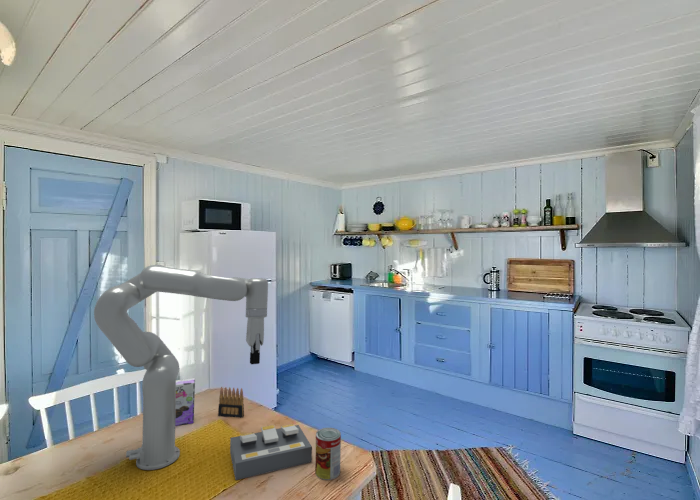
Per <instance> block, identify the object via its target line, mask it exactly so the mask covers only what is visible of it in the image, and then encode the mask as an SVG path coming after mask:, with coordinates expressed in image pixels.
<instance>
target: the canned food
mask: <svg viewBox="0 0 700 500" xmlns="http://www.w3.org/2000/svg"><path fill="white" fill-rule="evenodd" d="M341 443H342V434H341V431H340V430H338V429H337V428H335V427H323V428H320V429H318V430H317V431H316V433H315V463H314V465H315V466H314V469H315V471H314V472H315V473H314V474H315V476H316V477H317V478H318V479H320V480H325V481H330V480H331V481H332V480H335V479H337V478H338V477H339V476H340V474H341V453H342V452H341V450H342V449H341V447H342V445H341Z"/></svg>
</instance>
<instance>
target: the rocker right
mask: <svg viewBox="0 0 700 500" xmlns="http://www.w3.org/2000/svg"><path fill="white" fill-rule="evenodd" d="M295 425H296V424H294V423H293V424H287V425H281V426H280V428H281V431H282V432H283V433H284V434H285V435H291V434H296V433H299V429H298V428H297V427H296V426H295Z"/></svg>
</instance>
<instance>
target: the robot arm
mask: <svg viewBox="0 0 700 500" xmlns="http://www.w3.org/2000/svg"><path fill="white" fill-rule="evenodd" d="M268 281H269V280H268V279H266V278H262V277H261V278H260V277H258V278H257V277H252V278H246V277H245V278H244V277H236V276H235V277H223V276H216V275H215V276H214V275H211V274H206V273H203V272H201V271H198V270H191V269H184V268H177V267H170V266H165V265H162V264H152V265H148V266H146V267H144V268H143V269H142V271H141V272H140V273H138V274H137V275H134V276H133V277H132V278H130V279H128V280H126V281H124V282H122V283H120V284H118V285H114V286H112V287H109V288H107V289H106V290H105V291H104V292H103V293H102V294H100V296H99V298H98V299H97V301H96V304H95V306H94V310H93V315H94V316H93V317H94V321H95V323H96V325H97V327H98V329H99V330H100V331H101V332H102V333H103V335H104V336H105V337H106V338H107V340H109V342H110V343H111V344H112V346H113V347H114V348H115V349H116V350H117V352H118V353H119V355H120V356H121V357H123V359H124V360H125V361H126V363H127V364H128V365H130V366H131V367H133V368H140V367H141V368H142V367H143V368H144V369H145V373H144V375H143V377H142V378H143V379H142V384H141V389H142V390H141V391H142V438H141V439H142V440H141V446H140V447H138V448H137V449H131V450H129V449H128V450H127V451H126V452H125V457H126V458H128V459H129V461H131V460H135V461H136V463H135V465H136V467H137V468H138V469H140V470H143V471H152V470H153V471H155V470H158V469H162V468H166V467H167V466H169V465H171V464H173V463H174V462H176V461H177V460H178V459H179V457H180V455H181V454H180V453H181V450H180V447H178V446H176V443H175V442H176V426H175V419H176V380H177V378H178V375H179V371H180V364H179V361H178V359H177V358H176V356H175V355H174V353H172V351H171V350H170V348H169V347H168V346H167V345H166V343H164V341H163V340H162V338H160V337H159V336H158V335H157V334H156V333H154V332H151V331H143V330H142V329H141V327H139V325H138V323H137V322H136V321H135V320H134V319H133V318H132V317H131V316H130V315H129V314H128V313H129V312H128V310H129V309H131V308H133V307H135V306H136V305H138V304H139V303H141V302H143V300H146V299H148V298H149V297H151V296H152V295H154V294H155V293H157V292H158V293H165V294H166V293H167V294H177V295H183V296H184V295H185V296H192V297H196V298H206V299H211V300H218V301H219V300H222V301H228V302H238V301H240V300H243V299H244V298H246V299H245V318H247V321H246V333H245V334H246V335H245V336H246V337H245V341H246V344H247V345H248V347H250V351H249V364H250V365H259V364H260V360H261V359H260V358H261V346H263V345H264V341H265V340H264V339H265V318H267V317H268V297H269V282H268Z"/></svg>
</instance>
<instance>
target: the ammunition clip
mask: <svg viewBox="0 0 700 500" xmlns="http://www.w3.org/2000/svg"><path fill="white" fill-rule="evenodd" d="M218 400H219V401H218V402H219V403H218V409H217V410H218V411H217V412H218V413H217V417H224V418H238V419H242V418H244V416H245V405H244V390H243V388H242V387H241V388H240V390H239V387H237V388H236V390H235V387H233V388H232V389H231V387H230V386H229V387H228V389H227V387H226V386H225V387H224V388H223V386H221V387H220V390H219V399H218Z"/></svg>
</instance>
